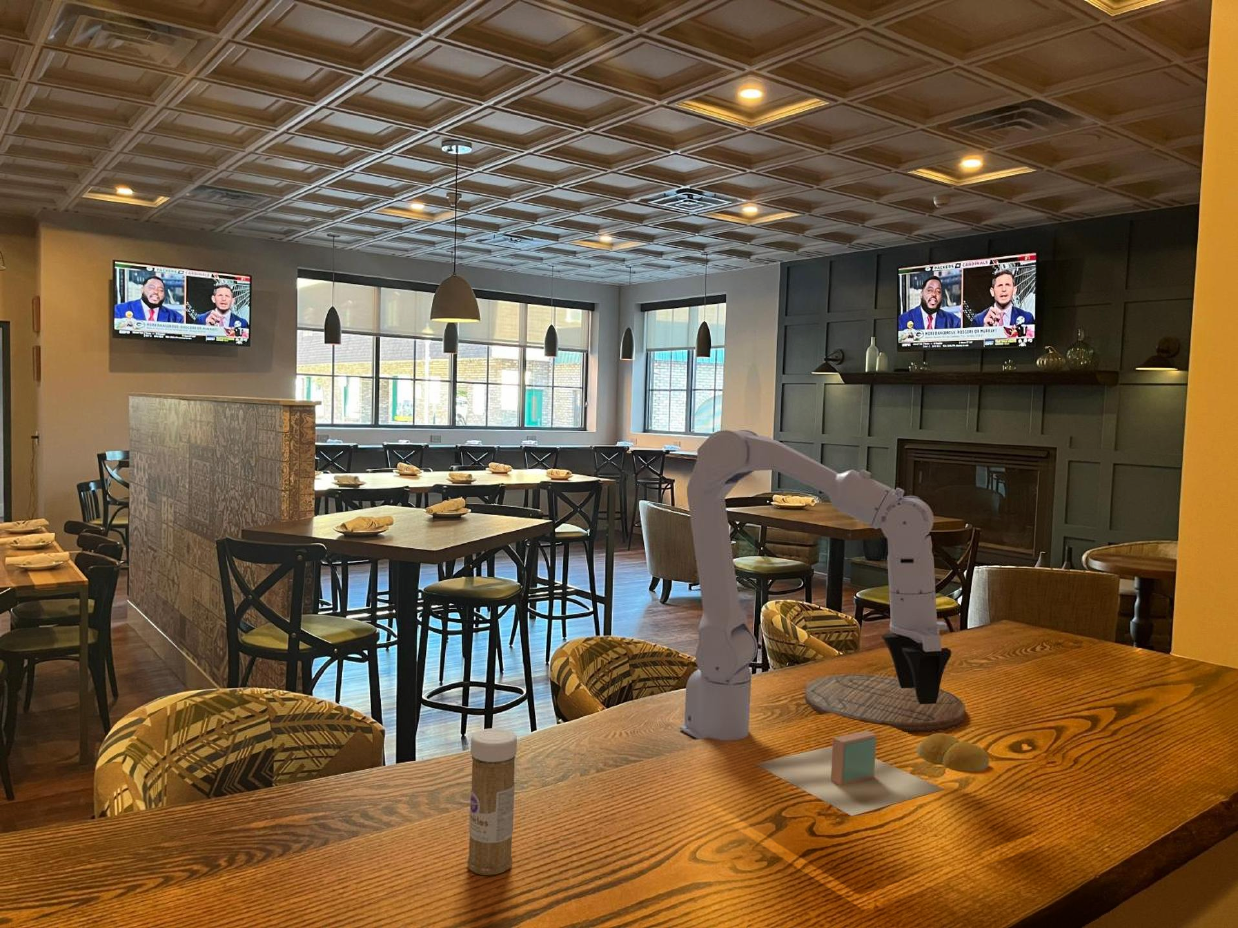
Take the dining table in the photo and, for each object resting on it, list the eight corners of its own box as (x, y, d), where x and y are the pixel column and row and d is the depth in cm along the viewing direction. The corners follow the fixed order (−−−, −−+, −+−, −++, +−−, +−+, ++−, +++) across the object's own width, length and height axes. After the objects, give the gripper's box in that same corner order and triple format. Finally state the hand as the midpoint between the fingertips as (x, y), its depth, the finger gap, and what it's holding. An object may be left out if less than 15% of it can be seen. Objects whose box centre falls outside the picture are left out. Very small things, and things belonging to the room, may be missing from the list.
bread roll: (970, 785, 116) (972, 754, 115) (908, 762, 122) (909, 734, 122) (1001, 770, 121) (1002, 740, 121) (939, 749, 128) (941, 722, 127)
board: (754, 771, 117) (754, 763, 117) (842, 750, 125) (842, 743, 125) (851, 824, 102) (852, 815, 102) (943, 796, 111) (944, 789, 111)
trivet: (945, 747, 129) (946, 734, 129) (781, 712, 142) (782, 700, 142) (978, 703, 150) (978, 692, 150) (832, 676, 163) (833, 665, 163)
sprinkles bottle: (457, 865, 90) (461, 734, 89) (492, 849, 93) (495, 723, 93) (488, 882, 87) (492, 746, 86) (522, 865, 90) (526, 734, 90)
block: (830, 780, 112) (833, 737, 112) (864, 772, 115) (866, 730, 115) (841, 786, 111) (843, 742, 110) (875, 777, 114) (877, 734, 113)
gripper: (963, 597, 109) (969, 708, 109) (924, 581, 124) (930, 679, 124) (905, 601, 109) (911, 712, 109) (873, 584, 124) (879, 682, 124)
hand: (917, 695), depth 117 cm, fingers open, 7 cm apart
